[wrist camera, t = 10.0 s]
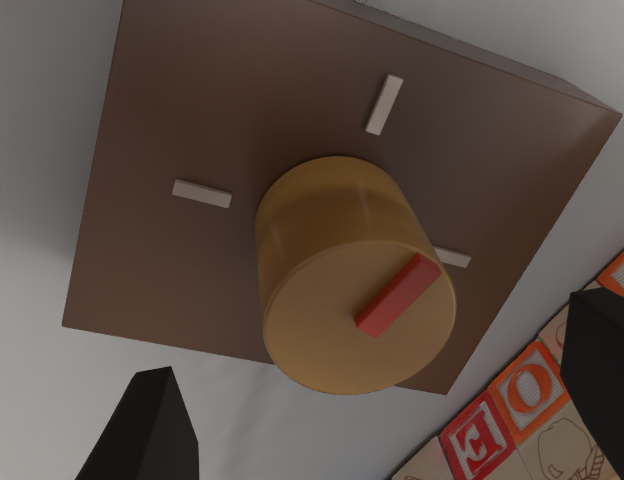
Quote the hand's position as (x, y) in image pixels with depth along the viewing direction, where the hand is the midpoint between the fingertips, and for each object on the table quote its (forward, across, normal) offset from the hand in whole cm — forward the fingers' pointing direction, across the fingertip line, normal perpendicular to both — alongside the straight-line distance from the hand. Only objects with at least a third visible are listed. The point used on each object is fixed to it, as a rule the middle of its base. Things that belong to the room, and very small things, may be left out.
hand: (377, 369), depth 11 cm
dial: (+5, 0, 0) cm, 5 cm away
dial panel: (+8, 0, 0) cm, 8 cm away
